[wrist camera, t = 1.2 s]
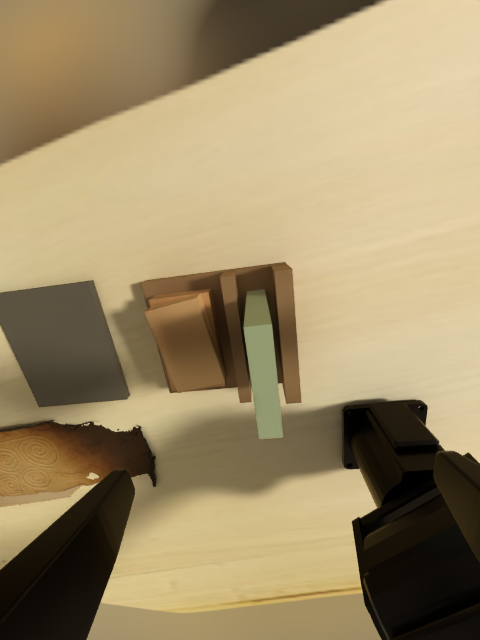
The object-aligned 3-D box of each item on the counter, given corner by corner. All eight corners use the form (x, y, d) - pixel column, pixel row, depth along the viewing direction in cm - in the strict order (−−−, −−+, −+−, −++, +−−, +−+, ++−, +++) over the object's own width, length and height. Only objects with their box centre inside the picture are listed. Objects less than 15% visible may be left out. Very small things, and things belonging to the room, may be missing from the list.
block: (272, 366, 19) (283, 437, 12) (256, 368, 19) (259, 439, 13) (264, 289, 17) (271, 324, 11) (247, 291, 17) (243, 327, 11)
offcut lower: (226, 376, 20) (225, 386, 18) (176, 381, 20) (172, 390, 19) (211, 288, 17) (208, 292, 16) (155, 295, 18) (148, 299, 16)
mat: (129, 394, 22) (126, 399, 21) (44, 402, 22) (39, 407, 22) (93, 280, 19) (88, 281, 18) (-5, 293, 19) (-13, 295, 19)
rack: (293, 375, 20) (301, 402, 17) (173, 385, 21) (158, 414, 18) (284, 262, 17) (292, 268, 14) (146, 280, 18) (123, 290, 15)
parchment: (-40, 510, 28) (-49, 518, 27) (-98, 443, 25) (-109, 450, 24) (169, 479, 26) (166, 488, 25) (134, 401, 22) (130, 407, 22)
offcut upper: (226, 372, 18) (225, 382, 17) (182, 382, 18) (177, 392, 17) (200, 293, 16) (196, 298, 15) (151, 306, 17) (144, 312, 15)
